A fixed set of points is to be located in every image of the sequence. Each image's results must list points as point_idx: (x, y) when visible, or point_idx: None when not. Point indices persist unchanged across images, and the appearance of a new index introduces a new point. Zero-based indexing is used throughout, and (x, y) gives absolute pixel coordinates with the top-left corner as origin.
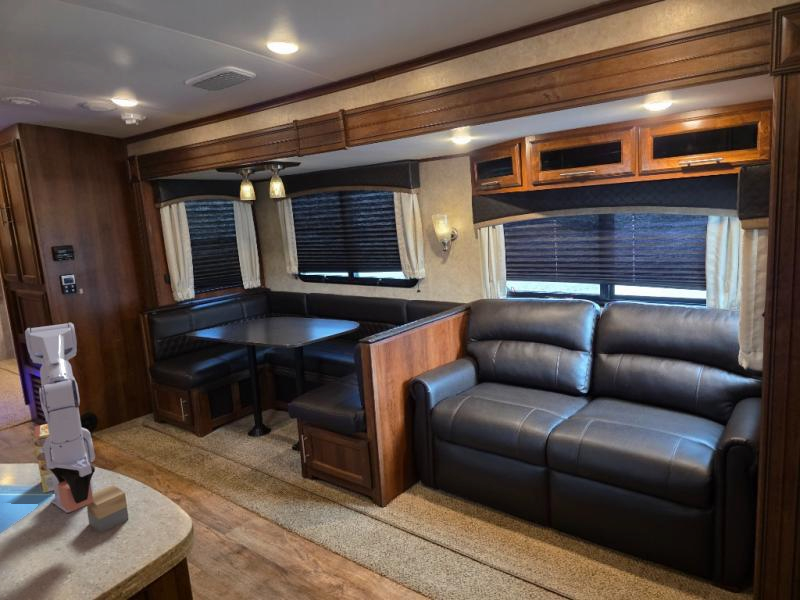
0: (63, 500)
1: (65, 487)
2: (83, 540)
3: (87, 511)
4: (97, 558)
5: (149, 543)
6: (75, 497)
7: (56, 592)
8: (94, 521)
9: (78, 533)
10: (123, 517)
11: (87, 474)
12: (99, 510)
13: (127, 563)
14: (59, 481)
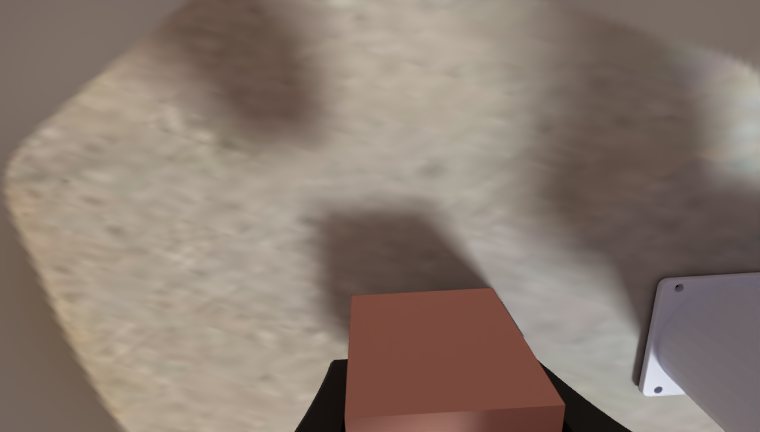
0: (445, 321)
1: (411, 425)
2: (405, 250)
3: (521, 334)
4: (235, 239)
5: (182, 378)
6: (319, 393)
7: (125, 62)
8: None
9: (472, 255)
10: None
11: None
12: None
13: (115, 292)
14: (589, 428)
